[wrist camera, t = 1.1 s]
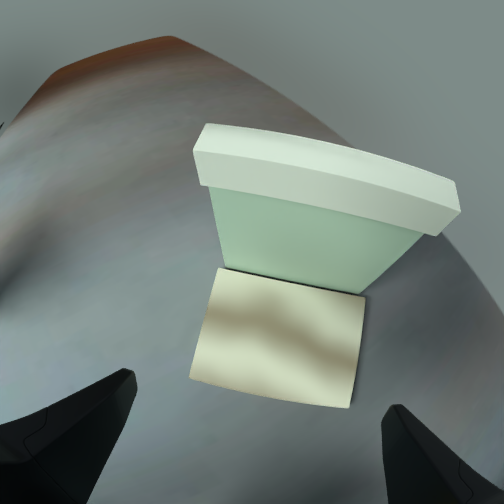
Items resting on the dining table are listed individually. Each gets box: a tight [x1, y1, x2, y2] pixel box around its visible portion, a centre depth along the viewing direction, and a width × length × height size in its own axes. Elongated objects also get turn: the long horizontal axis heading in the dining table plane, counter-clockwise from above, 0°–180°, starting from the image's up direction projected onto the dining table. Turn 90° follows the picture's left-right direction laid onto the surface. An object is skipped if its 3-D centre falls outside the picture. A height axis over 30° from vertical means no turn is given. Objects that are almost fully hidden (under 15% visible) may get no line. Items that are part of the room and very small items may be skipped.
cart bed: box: [189, 268, 365, 408], centre depth 22 cm, size 10×13×1 cm
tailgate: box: [193, 123, 461, 294], centre depth 18 cm, size 2×12×15 cm, turn 77°
